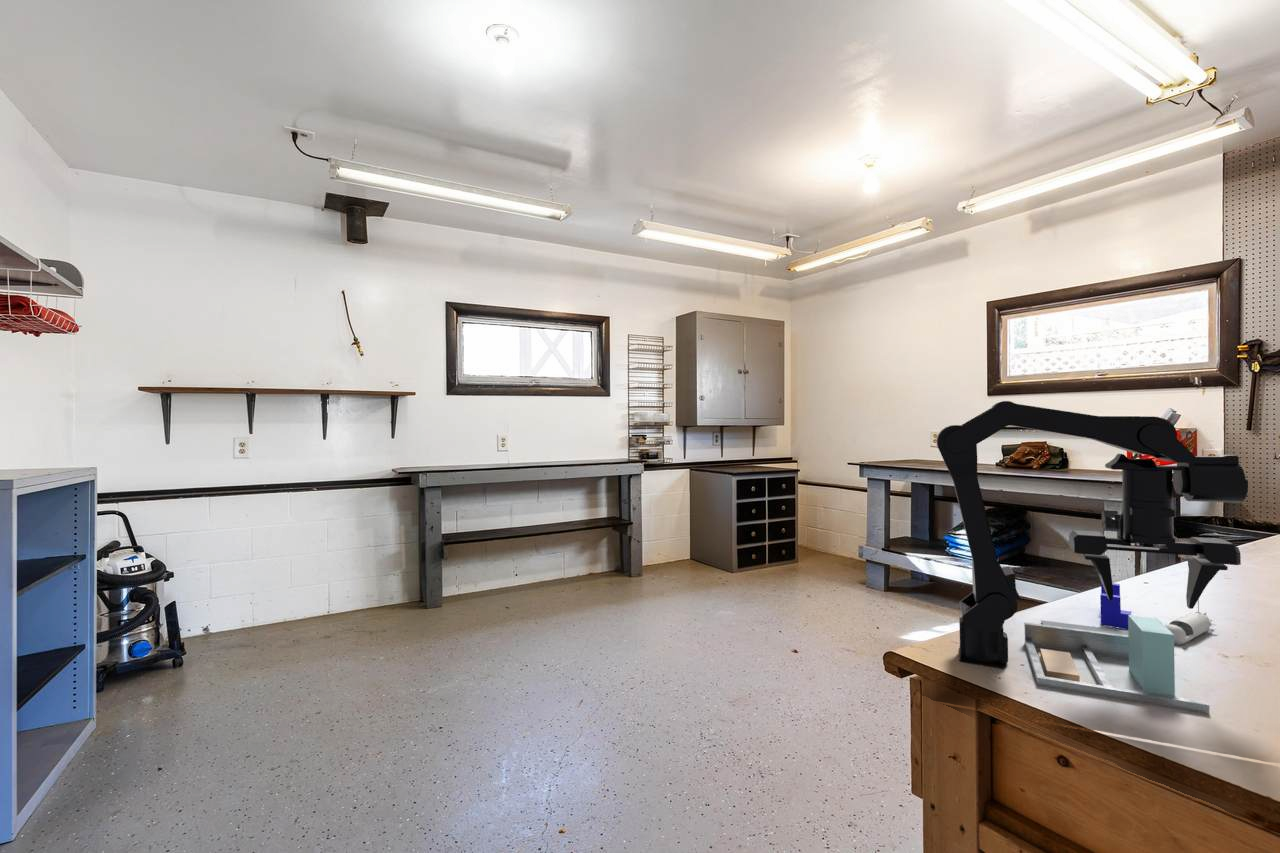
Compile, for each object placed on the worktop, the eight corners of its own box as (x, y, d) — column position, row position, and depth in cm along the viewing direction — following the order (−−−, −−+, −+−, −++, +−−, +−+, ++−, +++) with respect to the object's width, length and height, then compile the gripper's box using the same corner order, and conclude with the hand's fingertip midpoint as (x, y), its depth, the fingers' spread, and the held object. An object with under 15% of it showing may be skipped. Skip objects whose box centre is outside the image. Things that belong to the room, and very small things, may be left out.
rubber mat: (1051, 646, 102) (1051, 644, 102) (1041, 622, 115) (1041, 620, 115) (1155, 661, 96) (1154, 658, 96) (1132, 634, 108) (1132, 631, 108)
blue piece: (1131, 630, 110) (1130, 599, 110) (1100, 625, 113) (1100, 595, 113) (1129, 614, 119) (1129, 585, 119) (1101, 610, 122) (1101, 581, 122)
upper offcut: (1047, 678, 89) (1047, 670, 89) (1040, 655, 98) (1040, 648, 98) (1079, 683, 87) (1079, 675, 87) (1069, 660, 96) (1069, 652, 96)
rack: (1037, 687, 87) (1037, 660, 87) (1024, 644, 103) (1024, 622, 103) (1209, 716, 78) (1208, 686, 78) (1164, 664, 94) (1164, 639, 94)
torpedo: (1188, 651, 100) (1188, 613, 100) (1153, 642, 104) (1153, 606, 104) (1223, 630, 110) (1222, 595, 110) (1189, 623, 114) (1189, 590, 114)
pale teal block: (1143, 692, 85) (1142, 631, 85) (1129, 672, 92) (1128, 615, 92) (1174, 697, 83) (1174, 634, 83) (1157, 676, 90) (1157, 618, 90)
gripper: (1210, 496, 90) (1212, 597, 90) (1062, 491, 99) (1064, 583, 99) (1241, 505, 80) (1243, 618, 80) (1074, 499, 89) (1075, 601, 89)
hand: (1149, 603), depth 87 cm, fingers open, 9 cm apart
